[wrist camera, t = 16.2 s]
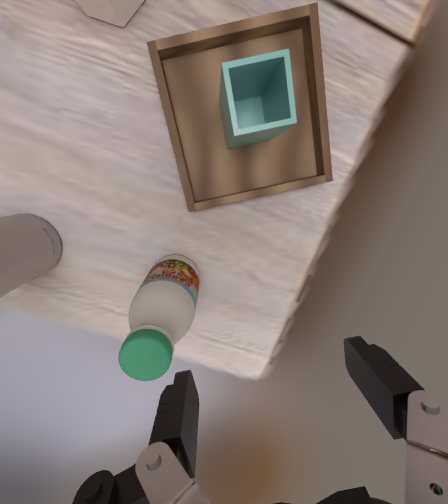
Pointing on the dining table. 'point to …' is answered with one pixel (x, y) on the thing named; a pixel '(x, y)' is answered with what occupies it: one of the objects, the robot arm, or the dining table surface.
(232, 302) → the dining table surface
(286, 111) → the teal square vase
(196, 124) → the wooden tray
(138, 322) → the yogurt drink bottle
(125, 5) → the jar
